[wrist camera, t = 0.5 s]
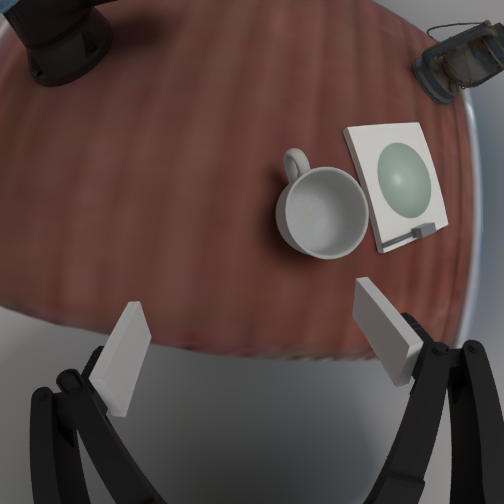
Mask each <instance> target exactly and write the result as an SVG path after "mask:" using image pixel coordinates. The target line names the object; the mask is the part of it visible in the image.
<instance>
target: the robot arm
mask: <svg viewBox="0 0 504 504" xmlns="http://www.w3.org/2000/svg"><path fill="white" fill-rule="evenodd" d="M113 1H117V0H0V12H1V13H3V15H4V16H5V18H6V19H7V21H8V22H9V24H10V25H11V27H12V28H13V30H14V31H15V33H16V34H17V36H18V37H19V38H20V40H21V41H22V43H23V44H24V45H25V47H26V51H27V58H28V64H29V69H30V72H31V74H32V76H33V77H34V78H35V79H36V81H37V82H38V83H40V84H42V85H45V86H58V85H62V84H65V83H68V82H71V81H73V80H75V79H77V78H79V77H80V76H82V75H84V74H85V73H87V72H88V71H89V70H91V69H92V68H93V67H94V66H95V65H96V64H97V63H98V62H99V61H100V60H101V59H102V58H103V57H104V56H105V54H106V53H107V51H108V49H109V47H110V45H111V42H112V30H111V27H110V24H109V22H108V20H107V19H106V18H105V17H104V16H103V15H102V14H101V13H100V12H99V11H98V10H97V9H96V8H95V7H94V6H97V5H101V4H105V3H109V2H113ZM352 316H353V318H354V319H355V321H356V322H357V324H358V326H359V327H360V329H361V330H362V332H363V334H364V335H365V337H366V338H367V340H368V342H369V343H370V345H371V347H372V348H373V350H374V352H375V353H376V355H377V356H378V358H379V360H380V361H381V363H382V365H383V366H384V368H385V370H386V371H387V373H388V375H389V377H390V378H391V380H392V382H393V384H394V385H395V387H399V386H402V385H405V384H408V383H409V381H410V378H411V376H413V378H414V379H415V382H414V385H413V387H412V389H411V392H410V398H409V401H408V404H407V407H406V410H405V413H404V416H403V419H402V421H401V424H400V427H399V430H398V432H397V435H396V438H395V440H394V442H393V445H392V447H391V450H390V452H389V455H388V456H387V459H386V461H385V463H384V466H383V468H382V470H381V472H380V474H379V476H378V478H377V480H376V482H375V484H374V486H373V488H372V490H371V492H370V493H369V495H368V497H367V498H366V500H365V501H364V503H363V504H418V502H419V500H420V497H421V495H422V492H423V489H424V486H425V481H424V480H423V479H424V475H425V472H426V469H427V466H428V463H429V460H430V456H431V454H432V450H433V447H434V443H435V440H436V435H437V432H438V428H439V424H440V419H441V415H442V410H443V405H444V400H445V394H446V389H447V390H448V398H449V408H450V420H451V421H450V422H451V443H452V470H451V490H450V504H504V421H503V416H502V411H501V406H500V402H499V397H498V393H497V389H496V385H495V382H494V378H493V374H492V371H491V368H490V364H489V361H488V358H487V355H486V352H485V349H484V347H483V345H482V344H481V343H480V342H478V341H476V340H467V341H466V342H465V343H464V344H463V347H462V348H461V349H450V348H449V346H447V345H446V344H444V343H441V342H434V340H433V339H432V338H431V337H430V336H429V335H428V333H427V332H426V331H425V330H424V329H423V328H422V326H421V325H420V324H419V323H418V322H417V321H416V320H415V319H414V317H412V316H411V315H409V314H407V313H401V314H399V312H398V311H397V310H396V309H395V308H394V307H393V305H392V304H391V303H390V302H389V301H388V300H387V299H386V297H385V296H384V295H383V294H382V293H381V292H380V291H379V290H378V288H377V287H376V286H375V285H374V284H373V283H372V282H371V281H370V280H369V278H368V277H363V278H356V285H355V296H354V305H353V314H352ZM150 340H151V335H150V332H149V329H148V326H147V323H146V320H145V316H144V313H143V310H142V307H141V304H140V301H138V302H128V304H127V306H126V308H125V310H124V311H123V313H122V315H121V317H120V319H119V320H118V322H117V324H116V326H115V328H114V330H113V332H112V333H111V335H110V337H109V339H108V341H107V343H106V345H105V346H99V347H98V348H97V349H96V350H94V351H93V353H92V355H91V357H90V359H89V361H88V363H87V365H86V366H85V368H84V370H83V372H82V374H81V375H80V374H79V372H78V371H77V370H75V369H67V370H64V371H63V372H61V373H60V374H59V375H58V377H57V379H56V384H57V385H58V387H59V388H60V390H61V391H62V392H60V393H53V392H52V391H51V389H49V388H48V387H41V388H38V389H37V390H36V391H35V392H34V393H33V395H32V398H31V413H30V414H31V415H30V469H31V481H32V492H33V499H34V504H91V503H90V499H89V495H88V491H87V487H86V482H85V478H84V473H83V469H82V463H81V457H80V451H79V446H78V438H77V430H78V432H79V434H80V437H81V438H82V441H83V443H84V446H85V448H86V450H87V452H88V454H89V456H90V458H91V460H92V462H93V464H94V466H95V468H96V470H97V472H98V473H99V475H100V477H101V479H102V481H103V482H104V484H105V486H106V488H107V489H108V491H109V493H110V494H111V496H112V498H113V499H114V501H115V502H116V504H167V503H166V502H165V500H164V499H163V498H162V497H161V495H160V494H159V493H158V492H157V491H156V489H155V488H154V487H153V485H152V484H151V483H150V482H149V480H148V479H147V478H146V476H145V475H144V473H143V472H142V471H141V469H140V468H139V467H138V465H137V464H136V462H135V461H134V459H133V458H132V456H131V455H130V453H129V452H128V450H127V449H126V447H125V446H124V444H123V443H122V441H121V439H120V438H119V436H118V434H117V433H116V431H115V429H114V428H113V426H112V424H111V423H110V421H109V419H108V417H107V416H106V413H107V410H109V412H110V413H111V415H112V416H118V417H126V415H127V411H128V408H129V404H130V401H131V398H132V395H133V391H134V388H135V385H136V382H137V379H138V375H139V372H140V369H141V366H142V363H143V360H144V357H145V354H146V351H147V348H148V346H149V343H150ZM76 429H77V430H76Z"/></svg>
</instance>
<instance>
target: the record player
mask: <svg viewBox="0 0 504 504" xmlns="http://www.w3.org/2000/svg"><path fill="white" fill-rule="evenodd" d="M343 134H344V137H345V139H346V142H347V145H348V148H349V151H350V154H351V157H352V160H353V163H354V166H355V169H356V172H357V175H358V178H359V182H360V185H361V188H362V191H363V192H364V194H365V197H366V200H367V204H368V210H369V217H370V221H371V225H372V229H373V233H374V237H375V241H376V246H377V250H378V253H385V252H388V251H390V250H392V249H395V248H397V247H399V246H402V245H404V244H406V243H409V242H411V241H413V240H415V239H418V238H423V237H426V236H428V235H430V234H432V233H434V232H436V230H438V229H440V228H442V227H444V226H446V225H448V221H447V216H446V212H445V207H444V203H443V198H442V194H441V190H440V187H439V183H438V179H437V176H436V172H435V169H434V165H433V162H432V159H431V156H430V153H429V149H428V147H427V144H426V141H425V138H424V135H423V132H422V130H421V127H420V124H419V123H397V124H380V125H367V126H356V127H347V128H346V129H344V130H343Z"/></svg>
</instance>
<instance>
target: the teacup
mask: <svg viewBox="0 0 504 504" xmlns="http://www.w3.org/2000/svg"><path fill="white" fill-rule="evenodd" d="M283 163H284V167H285V171H286V174H287V177H288V183H289V185H288V186H287V187H286V188H285V189H284V190H283V192H282V193H281V195H280V197H279V199H278V201H277V205H276V222H277V226H278V229H279V232H280V234H281V235H282V237H283V238H284V240H285V241H286V242H287V243H288V244H289V245H290V246H291V247H293V248H294V249H296V250H298V251H300V252H302V253H305V254H308V255H311V256H314V257H316V258H320V259H335V258H340V257H343V256H345V255H347V254H349V253H350V252H351V251H353V250H354V249H355V248H356V247H357V246H358V245H359V243H360V242H361V241H362V239H363V237H364V235H365V233H366V229H367V226H368V219H369V210H368V204H367V200H366V197H365V194H364V192H363V191H362V188H361V187H360V186H359V184H358V183H357V181H355V179H354V178H353V177H351V176H350V175H349V174H347V173H346V172H344V171H342V170H340V169H337V168H333V167H319V168H314V169H312V170H310V166H309V162H308V160H307V158H306V156H305V155H304V153H303V152H302V151H301V150H299V149H296V148H294V149H290V150H288V151H286V153H285V154H284V156H283ZM295 164H296V165H295ZM296 166H297V168H298V171H297V168H296Z"/></svg>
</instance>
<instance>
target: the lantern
mask: <svg viewBox="0 0 504 504" xmlns="http://www.w3.org/2000/svg"><path fill="white" fill-rule="evenodd" d="M466 24H480V25H478V26H475V27H473V28H471V29H468V30H466V31H464V32H462V33H459V34H457V35H455V36H453V37H449V38H448V39H446V40H444V41H442V42H439V41H437V40H436V39H434V38H433V37H431V36H430V35H429V33H428V31H430V30H432V29H435V28H439V27H446V26H453V25H466ZM428 31H427V34H428V35H429V37H430V38H432V39H434V40H435V41H437V42H438V43H437V44H435V45H433V46H431V47H429V48H428V49H426V50H425V51H424V52H423V54H422V57H419V58H417V59H415V60H414V62H413V70H414V73H415V76H416V78H417V80H418V82H419V84H420V85H421V87H422V88H423V89H424V91H425V92H426V93H427V94H428V95H429V96H430V97H431V98H432V99H433V100H434V101H435V102H437V103H439V104H441V105H447V104H448V103H449V102H451V100H452V98H453V97H455V96H457V95H458V94H459V86H461V88H462V87H464V88H462V90H463V89H465V87H466V88H469V87H476V86H479V85H480V84H482V83H483V82H485V81H487V80H489V79H490V78H492V77H493V76H495V75H497V74H498V73H500V72H502V71H503V70H504V26H503V25H502V24H501V23H497V24H495V25H493V26H492V25H491V23H490V21H489V20H485V22H482V23H457V24H449V25H443V26H437V27H433V28H430V29H428ZM443 55H444V56H443ZM441 56H443V57H442V58H440V57H441Z"/></svg>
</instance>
